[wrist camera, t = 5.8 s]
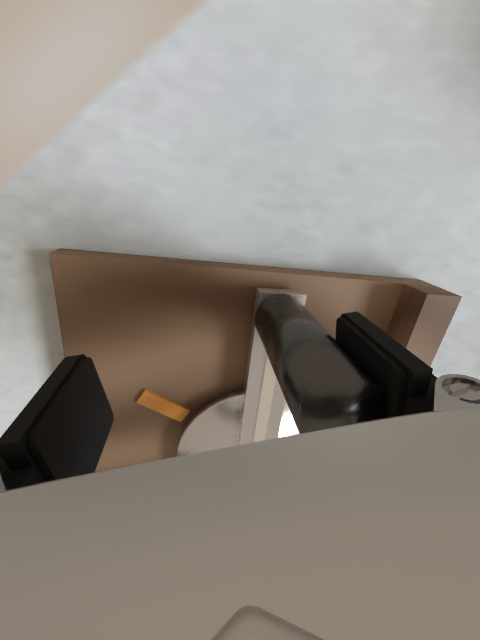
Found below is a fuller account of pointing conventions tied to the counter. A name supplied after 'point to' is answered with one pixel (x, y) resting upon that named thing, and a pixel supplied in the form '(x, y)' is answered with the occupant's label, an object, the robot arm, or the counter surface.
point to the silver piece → (286, 382)
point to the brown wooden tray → (205, 331)
